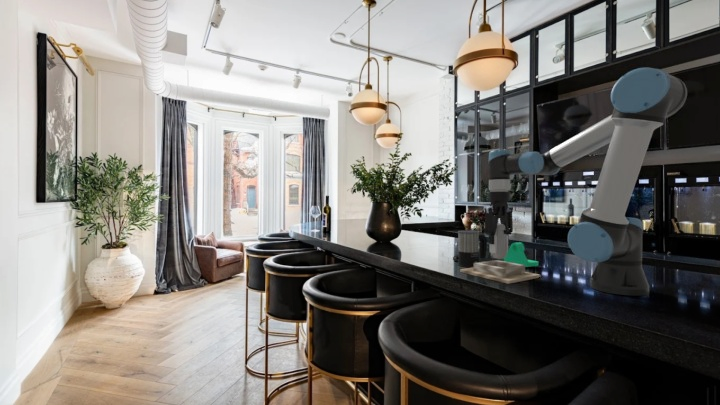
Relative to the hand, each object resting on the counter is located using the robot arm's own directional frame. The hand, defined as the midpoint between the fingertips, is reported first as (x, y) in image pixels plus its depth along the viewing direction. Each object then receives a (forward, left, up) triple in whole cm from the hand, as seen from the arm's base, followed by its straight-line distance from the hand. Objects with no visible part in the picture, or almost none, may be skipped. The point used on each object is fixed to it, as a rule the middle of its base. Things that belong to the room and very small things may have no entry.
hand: (498, 251), depth 134 cm
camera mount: (+6, -22, -9) cm, 25 cm away
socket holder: (0, 0, -9) cm, 9 cm away
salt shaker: (0, 0, -3) cm, 3 cm away
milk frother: (+22, -6, -9) cm, 25 cm away
